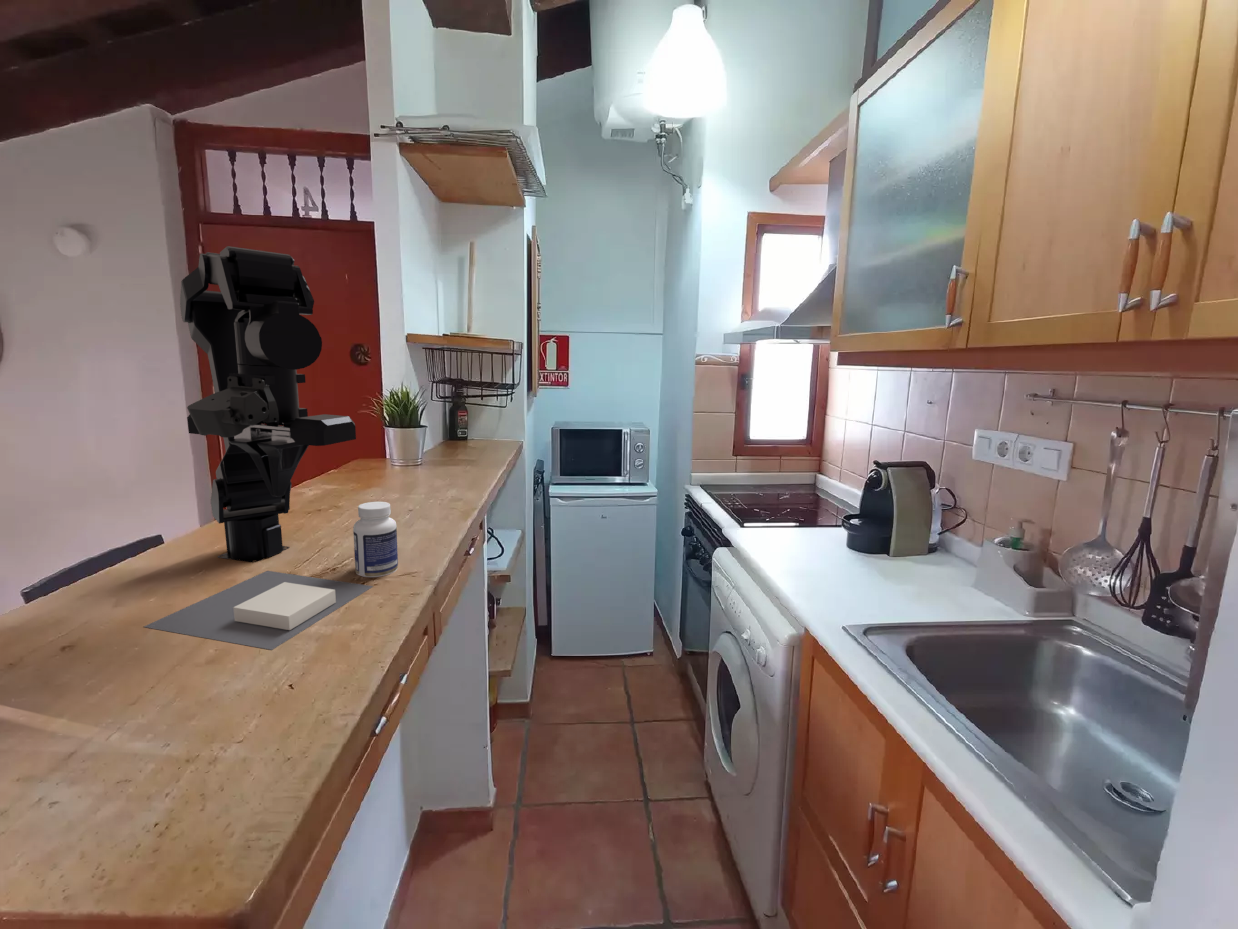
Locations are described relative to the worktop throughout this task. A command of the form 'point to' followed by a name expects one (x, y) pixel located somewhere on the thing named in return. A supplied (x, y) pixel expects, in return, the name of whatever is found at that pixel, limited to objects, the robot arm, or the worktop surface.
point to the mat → (219, 623)
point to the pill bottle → (375, 540)
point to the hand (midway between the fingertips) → (278, 495)
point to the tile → (284, 605)
